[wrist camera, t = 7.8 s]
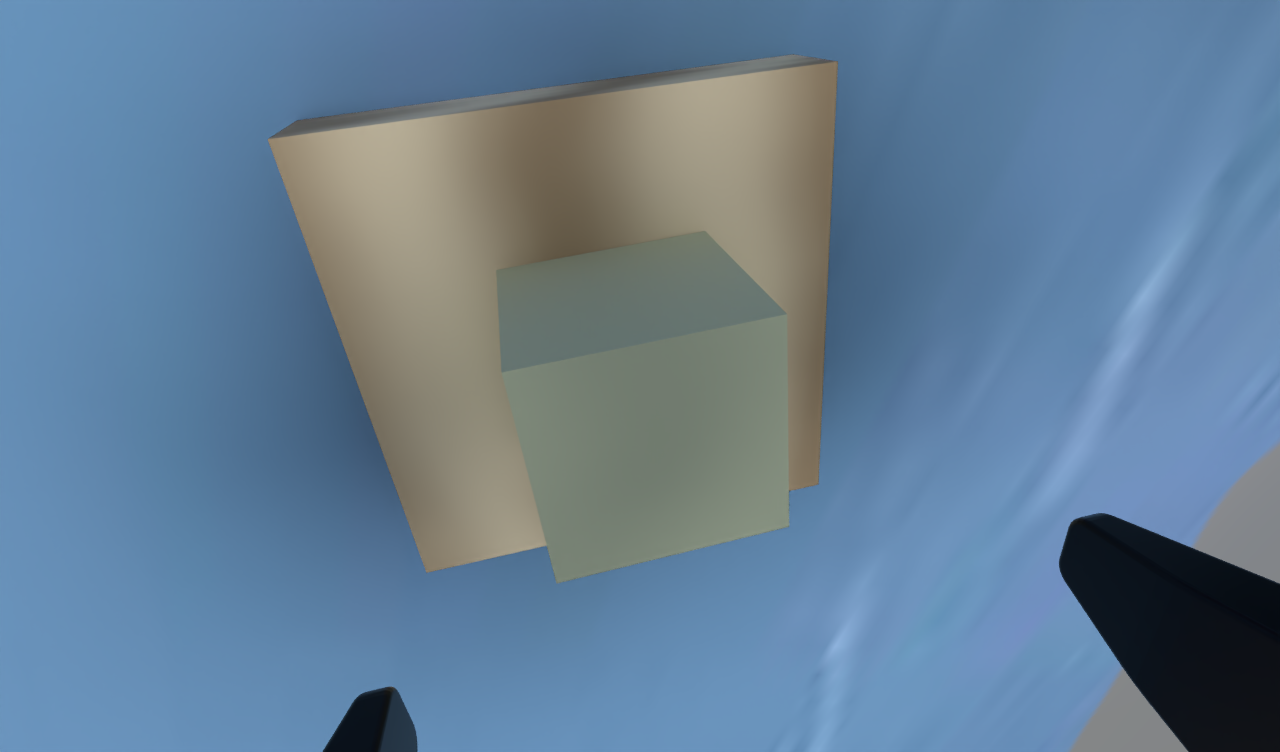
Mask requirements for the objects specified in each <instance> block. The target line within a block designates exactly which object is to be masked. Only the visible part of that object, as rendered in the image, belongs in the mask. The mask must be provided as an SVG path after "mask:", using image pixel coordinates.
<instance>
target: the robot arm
mask: <svg viewBox="0 0 1280 752" xmlns="http://www.w3.org/2000/svg"><path fill="white" fill-rule="evenodd" d="M1059 568H1060V572H1061V574H1062V577H1063V579H1064V581H1065V582H1066V584H1067V585H1068V587H1069V588H1070V590H1071V591H1072V593H1073V594H1074V596H1075V597H1076V599H1077V600H1078V602H1079V603H1080V605H1081V606H1082V608H1083V609H1084V611H1085V612H1086V613H1087V615H1088V616H1089V618H1090V619H1091V621H1092V622H1093V624H1094V625H1095V627H1096V628H1097V630H1098V631H1099V633H1100V634H1101V636H1102V637H1103V639H1104V640H1105V642H1106V643H1107V645H1108V646H1109V648H1110V649H1111V651H1112V652H1113V654H1114V655H1115V657H1116V658H1117V660H1118V661H1119V663H1120V664H1121V666H1122V667H1123V669H1124V670H1125V671H1126V673H1127V674H1128V676H1129V677H1130V678H1131V680H1132V681H1133V683H1134V684H1135V685H1136V687H1137V688H1138V689H1139V690H1140V692H1141V693H1142V694H1143V696H1144V697H1145V698H1146V699H1147V701H1148V702H1149V703H1150V705H1151V706H1152V707H1153V708H1154V709H1155V711H1156V712H1157V713H1158V714H1159V716H1160V717H1161V718H1162V719H1163V721H1164V722H1165V723H1166V724H1167V726H1168V727H1169V728H1170V729H1171V730H1172V732H1173V733H1174V734H1175V736H1176V737H1177V738H1178V739H1179V741H1180V742H1181V743H1182V744H1183V745H1184V747H1185V748H1186V749H1187V750H1188V752H1280V584H1279V583H1276V582H1275V581H1272V580H1270V579H1267V578H1265V577H1262V576H1260V575H1257V574H1255V573H1252V572H1250V571H1247V570H1245V569H1242V568H1240V567H1238V566H1235V565H1233V564H1230V563H1227V562H1225V561H1223V560H1220V559H1218V558H1215V557H1213V556H1210V555H1208V554H1206V553H1203V552H1201V551H1198V550H1196V549H1193V548H1191V547H1188V546H1186V545H1183V544H1181V543H1179V542H1176V541H1174V540H1171V539H1169V538H1166V537H1164V536H1161V535H1159V534H1156V533H1154V532H1152V531H1149V530H1147V529H1144V528H1142V527H1139V526H1137V525H1134V524H1132V523H1129V522H1127V521H1124V520H1122V519H1120V518H1117V517H1115V516H1112V515H1109V514H1105V513H1098V514H1093V515H1089V516H1084V517H1080V518H1077V519H1075V520H1073V521H1072V522H1071V524H1070V526H1069V528H1068V532H1067V535H1066V539H1065V542H1064V545H1063V549H1062V552H1061V556H1060V559H1059ZM323 752H417V736H416V731H415V727H414V724H413V722H412V720H411V718H410V715H409V713H408V711H407V709H406V707H405V705H404V703H403V701H402V698H401V696H400V694H399V692H398V691H397V689H395V688H394V687H385V688H381V689H377V690H373V691H369V692H365V693H362V694H361V695H359V696H358V697H357V698H356V699H355V700H354V702H353V703H352V705H351V707H350V708H349V710H348V711H347V713H346V715H345V716H344V718H343V719H342V721H341V723H340V724H339V726H338V728H337V729H336V731H335V732H334V734H333V736H332V737H331V739H330V740H329V742H328V744H327V745H326V747H325V749H324V750H323Z"/></svg>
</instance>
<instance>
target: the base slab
mask: <svg viewBox="0 0 1280 752" xmlns="http://www.w3.org/2000/svg"><path fill="white" fill-rule="evenodd" d="M837 69H838V61H832V60H825V59H819V58H813V57H806V56H800V55H794V54H793V55H785V56H778V57H770V58H763V59H755V60H748V61H740V62H733V63H725V64H718V65H710V66H702V67H695V68H687V69H680V70H672V71H665V72H657V73H650V74H642V75H635V76H627V77H620V78H612V79H605V80H597V81H590V82H582V83H575V84H567V85H560V86H552V87H545V88H537V89H530V90H522V91H515V92H507V93H500V94H492V95H485V96H477V97H470V98H462V99H454V100H447V101H439V102H432V103H424V104H417V105H409V106H402V107H394V108H387V109H379V110H372V111H364V112H357V113H349V114H342V115H334V116H327V117H319V118H312V119H304V120H297V121H295V122H294V123H292V124H291V125H289V126H288V127H286V128H284V129H283V130H281V131H280V132H278V133H277V134H275V135H274V136H272V137H270V138H269V139H268V141H269V144H270V147H271V150H272V152H273V155H274V158H275V160H276V163H277V166H278V169H279V171H280V174H281V177H282V180H283V182H284V185H285V188H286V190H287V193H288V196H289V199H290V201H291V204H292V207H293V210H294V212H295V215H296V218H297V220H298V223H299V226H300V229H301V231H302V234H303V237H304V240H305V242H306V245H307V248H308V250H309V253H310V256H311V259H312V261H313V264H314V267H315V270H316V272H317V275H318V278H319V280H320V283H321V286H322V289H323V291H324V294H325V297H326V300H327V302H328V305H329V308H330V310H331V313H332V316H333V319H334V321H335V324H336V327H337V330H338V332H339V335H340V338H341V340H342V343H343V346H344V349H345V351H346V354H347V357H348V360H349V362H350V365H351V368H352V370H353V373H354V376H355V379H356V381H357V384H358V387H359V390H360V392H361V395H362V398H363V400H364V403H365V406H366V409H367V411H368V414H369V417H370V420H371V422H372V425H373V428H374V430H375V433H376V436H377V439H378V441H379V444H380V447H381V450H382V452H383V455H384V458H385V460H386V463H387V466H388V469H389V471H390V474H391V477H392V480H393V482H394V485H395V488H396V490H397V493H398V496H399V499H400V501H401V504H402V507H403V510H404V512H405V515H406V518H407V520H408V523H409V526H410V529H411V531H412V534H413V537H414V540H415V542H416V545H417V548H418V550H419V553H420V556H421V559H422V561H423V564H424V567H425V570H426V572H427V573H428V572H432V571H436V570H441V569H445V568H450V567H454V566H459V565H463V564H467V563H472V562H476V561H481V560H485V559H490V558H494V557H498V556H503V555H507V554H512V553H516V552H521V551H525V550H530V549H534V548H538V547H543V546H547V545H546V541H545V537H544V533H543V529H542V525H541V522H540V518H539V514H538V510H537V506H536V503H535V499H534V495H533V491H532V487H531V483H530V480H529V476H528V472H527V468H526V464H525V460H524V457H523V453H522V449H521V445H520V441H519V438H518V434H517V430H516V426H515V422H514V418H513V415H512V411H511V407H510V403H509V399H508V396H507V392H506V388H505V384H504V380H503V376H502V372H501V353H500V334H499V315H498V295H497V276H496V270H499V269H504V268H510V267H515V266H520V265H526V264H531V263H536V262H542V261H547V260H552V259H558V258H563V257H569V256H574V255H579V254H585V253H590V252H595V251H601V250H606V249H611V248H617V247H622V246H627V245H633V244H638V243H644V242H649V241H654V240H660V239H665V238H670V237H676V236H681V235H686V234H692V233H697V232H703V231H706V232H707V233H708V234H709V235H710V236H711V237H712V238H713V239H714V240H715V242H716V243H717V244H718V245H719V246H720V247H721V248H722V249H723V250H724V251H725V252H726V253H727V254H728V255H729V256H730V257H731V258H732V259H733V260H734V261H735V262H736V263H737V264H738V265H739V266H740V267H741V268H742V269H743V270H744V271H745V272H746V273H747V274H748V275H749V276H750V277H751V278H752V279H753V280H754V281H755V282H756V283H757V284H758V285H759V286H760V287H761V288H762V289H763V290H764V291H765V292H766V293H767V294H768V295H769V296H770V297H771V298H772V299H773V300H774V301H775V302H776V303H777V304H778V305H779V306H780V307H781V308H782V309H783V310H784V311H785V312H786V313H787V348H788V457H789V491H791V490H796V489H800V488H805V487H809V486H814V485H818V482H819V460H820V438H821V417H822V395H823V373H824V351H825V330H826V308H827V286H828V264H829V243H830V221H831V199H832V177H833V156H834V134H835V112H836V90H837Z"/></svg>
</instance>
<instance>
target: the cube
mask: <svg viewBox="0 0 1280 752" xmlns="http://www.w3.org/2000/svg"><path fill="white" fill-rule="evenodd" d="M496 276H497V295H498V315H499V334H500V353H501V372H502V376H503V380H504V384H505V388H506V392H507V396H508V399H509V403H510V407H511V411H512V415H513V418H514V422H515V426H516V430H517V434H518V438H519V441H520V445H521V449H522V453H523V457H524V460H525V464H526V468H527V472H528V476H529V480H530V483H531V487H532V491H533V495H534V499H535V503H536V506H537V510H538V514H539V518H540V522H541V525H542V529H543V533H544V537H545V541H546V545H547V548H548V552H549V556H550V560H551V564H552V567H553V571H554V575H555V579H556V583H560V582H565V581H569V580H573V579H577V578H581V577H585V576H589V575H593V574H597V573H601V572H606V571H610V570H614V569H618V568H622V567H626V566H630V565H634V564H638V563H642V562H647V561H651V560H655V559H659V558H663V557H667V556H671V555H675V554H679V553H683V552H688V551H692V550H696V549H700V548H704V547H708V546H712V545H716V544H720V543H724V542H729V541H733V540H737V539H741V538H745V537H749V536H753V535H757V534H761V533H765V532H770V531H774V530H778V529H782V528H786V527H789V457H788V348H787V313H786V312H785V311H784V310H783V309H782V308H781V307H780V306H779V305H778V304H777V303H776V302H775V301H774V300H773V299H772V298H771V297H770V296H769V295H768V294H767V293H766V292H765V291H764V290H763V289H762V288H761V287H760V286H759V285H758V284H757V283H756V282H755V281H754V280H753V279H752V278H751V277H750V276H749V275H748V274H747V273H746V272H745V271H744V270H743V269H742V268H741V267H740V266H739V265H738V264H737V263H736V262H735V261H734V260H733V259H732V258H731V257H730V256H729V255H728V254H727V253H726V252H725V251H724V250H723V249H722V248H721V247H720V246H719V245H718V244H717V243H716V242H715V240H714V239H713V238H712V237H711V236H710V235H709V234H708V233H707V232H706V231H703V232H697V233H692V234H686V235H681V236H676V237H670V238H665V239H660V240H654V241H649V242H644V243H638V244H633V245H627V246H622V247H617V248H611V249H606V250H601V251H595V252H590V253H585V254H579V255H574V256H569V257H563V258H558V259H552V260H547V261H542V262H536V263H531V264H526V265H520V266H515V267H510V268H504V269H499V270H496Z"/></svg>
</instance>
